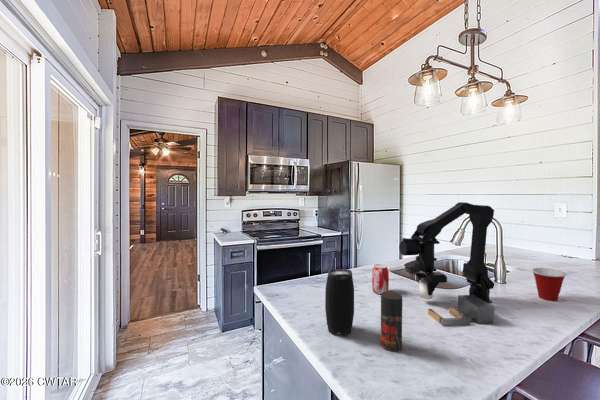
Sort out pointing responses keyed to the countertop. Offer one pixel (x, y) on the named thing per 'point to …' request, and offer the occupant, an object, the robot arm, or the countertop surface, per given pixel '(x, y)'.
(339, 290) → the portable speaker
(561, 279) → the plastic cup
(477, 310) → the grey angular piece
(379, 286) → the soda can
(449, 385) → the countertop surface
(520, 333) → the countertop surface
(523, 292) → the countertop surface
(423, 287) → the white rounded cylinder
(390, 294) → the deodorant
